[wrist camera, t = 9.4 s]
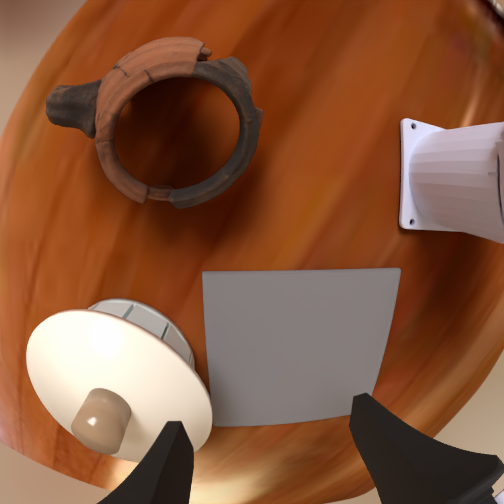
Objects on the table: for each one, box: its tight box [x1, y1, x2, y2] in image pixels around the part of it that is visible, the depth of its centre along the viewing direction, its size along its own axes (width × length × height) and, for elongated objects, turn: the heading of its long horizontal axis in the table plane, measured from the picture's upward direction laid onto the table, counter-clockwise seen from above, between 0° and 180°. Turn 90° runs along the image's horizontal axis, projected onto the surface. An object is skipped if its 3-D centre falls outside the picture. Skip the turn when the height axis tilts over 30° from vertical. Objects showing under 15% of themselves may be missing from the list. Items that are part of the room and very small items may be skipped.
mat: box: [202, 268, 401, 427], centre depth 20 cm, size 14×14×1 cm
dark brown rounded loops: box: [46, 37, 263, 209], centre depth 13 cm, size 12×10×8 cm
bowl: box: [88, 298, 195, 370], centre depth 17 cm, size 10×10×5 cm
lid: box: [26, 309, 212, 463], centre depth 13 cm, size 13×13×4 cm
